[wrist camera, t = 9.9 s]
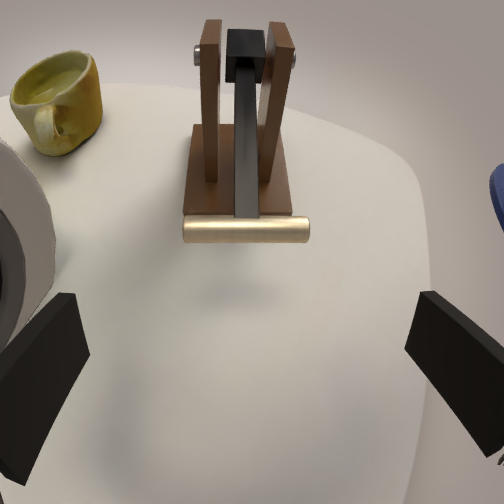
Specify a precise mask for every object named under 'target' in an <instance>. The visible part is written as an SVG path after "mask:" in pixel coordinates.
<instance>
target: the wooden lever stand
mask: <svg viewBox="0 0 504 504" xmlns="http://www.w3.org/2000/svg"><path fill="white" fill-rule="evenodd" d="M221 27H222V20H206V22H205V25H204V30H203V33H202V36H201V40H200V45H195V48H194V65H195V66H200V86H201V87H200V89H201V114H202V124H194V125H193V132H192V139H191V146H190V154H189V162H188V170H187V179H186V188H185V197H184V207H183V214H184V216H186V215H234V124H220V63H221V29H222V28H221ZM295 61H296V52H295V47H294V44H293V42H292V39H291V37H290V34H289V32H288V29H287V27H286V25H285V23H281V22H269V29H268V37H267V45H266V60H265V66H264V71H263V77H262V86H261V94H260V102H259V110H258V119H257V141H258V175H259V212H260V216H291V215H292V205H291V198H290V191H289V184H288V177H287V170H286V163H285V157H284V150H283V144H282V138H281V132H280V126H281V121H282V116H283V110H284V105H285V100H286V94H287V89H288V84H289V79H290V73H291V69H293V68H294V66H295Z"/></svg>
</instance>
